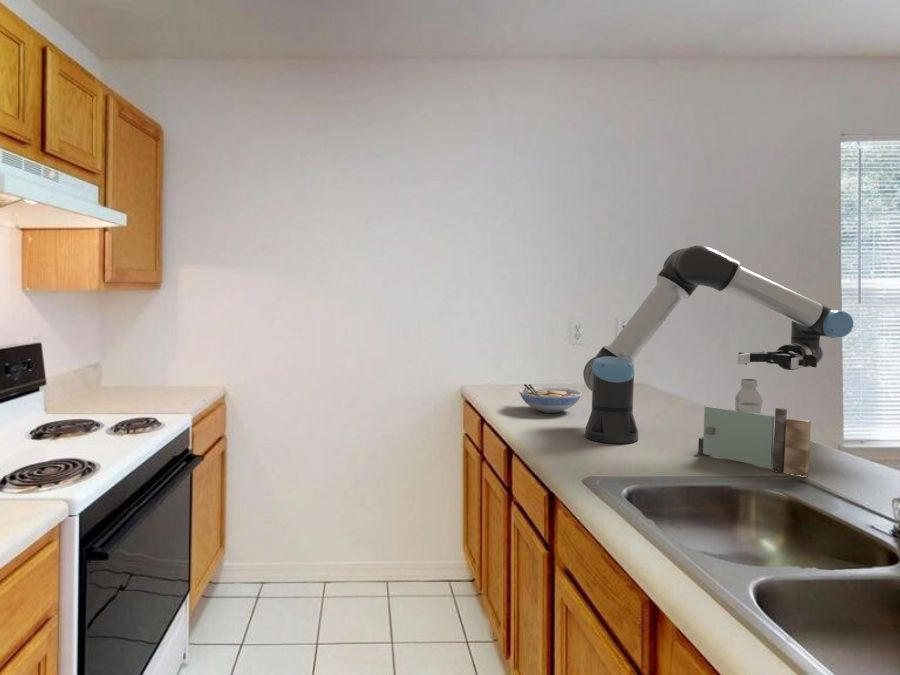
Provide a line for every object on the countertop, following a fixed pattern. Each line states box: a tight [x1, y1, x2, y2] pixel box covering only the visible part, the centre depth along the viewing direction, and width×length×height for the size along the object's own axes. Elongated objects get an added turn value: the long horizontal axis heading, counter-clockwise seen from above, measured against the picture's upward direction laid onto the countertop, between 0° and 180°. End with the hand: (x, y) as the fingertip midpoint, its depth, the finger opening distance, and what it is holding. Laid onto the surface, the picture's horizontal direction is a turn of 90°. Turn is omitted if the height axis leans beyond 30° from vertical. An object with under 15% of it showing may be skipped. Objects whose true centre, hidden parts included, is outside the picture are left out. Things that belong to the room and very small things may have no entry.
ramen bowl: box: [518, 383, 583, 414], centre depth 208 cm, size 25×23×8 cm
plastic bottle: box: [734, 378, 763, 414], centre depth 150 cm, size 6×7×20 cm
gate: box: [702, 405, 775, 469], centre depth 143 cm, size 16×3×12 cm, turn 41°
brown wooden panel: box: [697, 407, 812, 477], centre depth 142 cm, size 26×5×15 cm, turn 41°
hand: (764, 361), depth 155 cm, fingers open, 13 cm apart
